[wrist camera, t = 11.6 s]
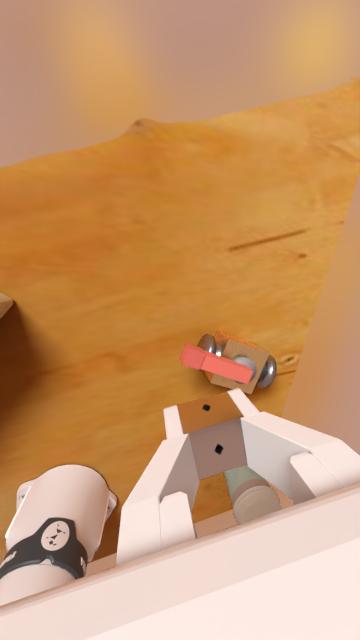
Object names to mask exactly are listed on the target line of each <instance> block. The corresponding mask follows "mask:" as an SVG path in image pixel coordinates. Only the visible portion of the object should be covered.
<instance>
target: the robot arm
mask: <svg viewBox="0 0 360 640" xmlns="http://www.w3.org/2000/svg"><path fill="white" fill-rule="evenodd" d="M177 407H178V408H177ZM164 419H165V427H166V435H167V440H164V441H162V443H161V445H160V446H159V448H158V450H157V451H156V453H155V455H154V456H153V458H152V460H151V461H150V463H149V464H148V466H147V468H146V469H145V471H144V473H143V474H142V476H141V478H140V479H139V481H138V482H137V484H136V486H135V487H134V489H133V491H132V492H131V494H130V496H129V497H128V499H127V501H126V502H125V504H124V505H123V507H122V512H121V521H120V530H119V539H118V548H117V558H116V566H115V567H112V568H109V569H106V570H103V571H100V572H97V573H94V574H91V575H89V576H86V577H85V575H86V567H87V562H91V561H92V559H93V557H94V554H95V551H97V550H98V547H99V545H100V542H101V537H102V532H103V528H104V523H105V522H106V520H107V519H108V517H109V516H110V514H111V512H112V511H113V509H114V508H115V506H116V503H117V497H116V496H115V495H114V494H113V493H112V492H111V491H109V489H108V487H107V485H106V482H105V480H104V479H103V477H102V476H101V475H100V474H99V473H97V472H96V471H94V470H93V469H91V468H88V467H85V466H81V465H63V466H59V467H56V468H53V469H51V470H49V471H47V472H45V473H44V474H42V475H41V476H40V477H38V478H37V479H35V480H32V481H28V482H25V483H23V484H21V485H20V487H19V489H18V491H17V512H16V515H15V516H14V518H13V520H12V522H11V524H10V526H9V528H8V531H7V533H6V535H5V538H6V539H7V540H6V549H7V554H6V556H5V558H4V560H3V562H2V564H1V565H0V640H360V456H359V455H358V454H357V453H355V452H354V451H353V450H352V449H351V448H350V447H348V446H347V445H346V444H345V443H344V442H343V441H341V440H340V439H337V438H334V437H332V436H329V435H326V434H324V433H321V432H318V431H315V430H312V429H310V428H307V427H304V426H302V425H299V424H296V423H294V422H291V421H288V420H285V419H283V418H280V417H277V416H274V415H272V414H269V413H266V412H259V411H258V410H257V409H256V407H255V406H254V405H253V404H252V403H251V401H250V400H249V399H248V398H247V397H246V395H245V394H244V393H243V392H242V390H241V389H239V388H236V389H233V390H230V391H227V392H224V393H221V394H217V395H214V396H210V397H207V398H204V399H198V400H194V401H190V402H186V403H182V404H178V405H174V406H171V407H167V408H164ZM180 420H181V421H180ZM246 465H248V467H249V468H251V469H252V470H253V471H255V472H256V473H257V474H259V475H260V476H261V477H263V478H264V479H265V480H267V481H268V482H270V483H271V484H272V485H273V486H275V487H276V488H277V489H279V490H280V491H281V492H283V493H284V494H285V495H287V496H288V497H289V498H291V499H292V500H293V501H294V505H293V506H291V507H287V508H285V509H282V510H279V511H276V512H273V513H270V514H267V515H264V516H261V517H258V518H255V519H252V520H249V521H246V522H244V523H241V524H238V525H235V526H232V527H229V528H226V529H223V530H220V531H218V532H214V533H212V534H208V535H205V536H203V537H200V538H197V534H196V530H195V526H194V521H193V517H192V509H193V505H194V501H195V497H196V493H197V490H198V486H199V480H201V479H204V478H207V477H210V476H213V475H216V474H218V473H221V472H224V471H228V470H232V469H235V468H239V467H242V466H246Z"/></svg>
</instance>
